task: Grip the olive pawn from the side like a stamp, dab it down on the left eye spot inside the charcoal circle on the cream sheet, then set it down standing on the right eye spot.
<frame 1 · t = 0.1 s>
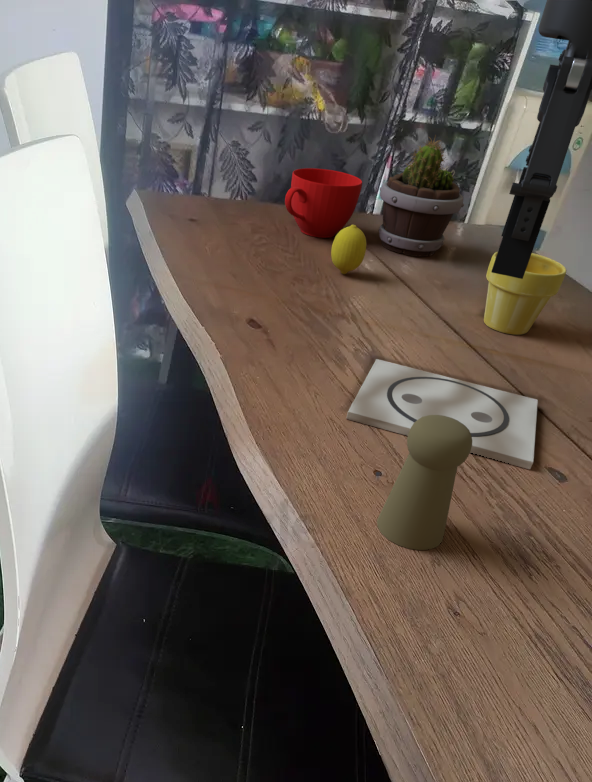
hand: (511, 255, 70), 20 cm above the table, tool pointing down, fingers open, 13 cm apart
olive pawn: (409, 530, 67), on the table
drawing sheet: (444, 412, 86), on the table
lemon: (343, 275, 123), on the table
flowerpot: (407, 249, 139), on the table
flower pot: (505, 327, 111), on the table
ceramic cup: (310, 234, 140), on the table
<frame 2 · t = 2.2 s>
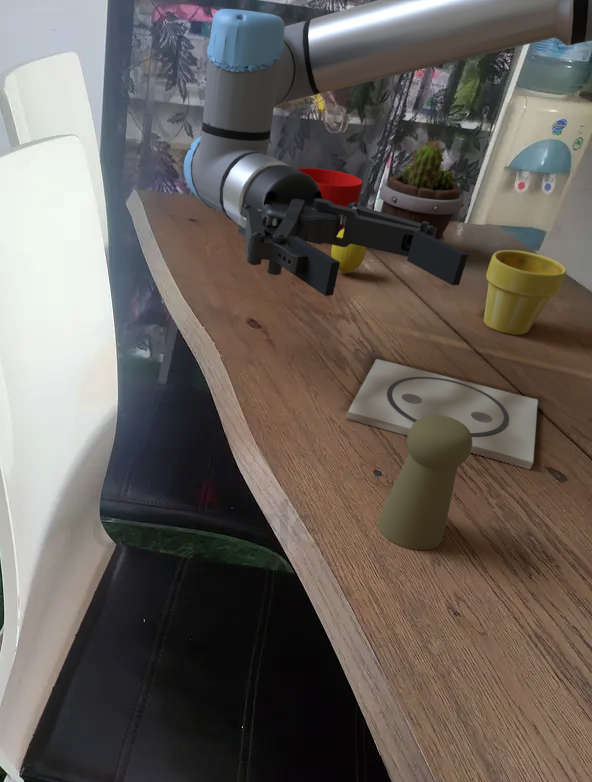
hand: (399, 274, 62), 20 cm above the table, tool horizontal, fingers open, 13 cm apart
nothing on the table moved.
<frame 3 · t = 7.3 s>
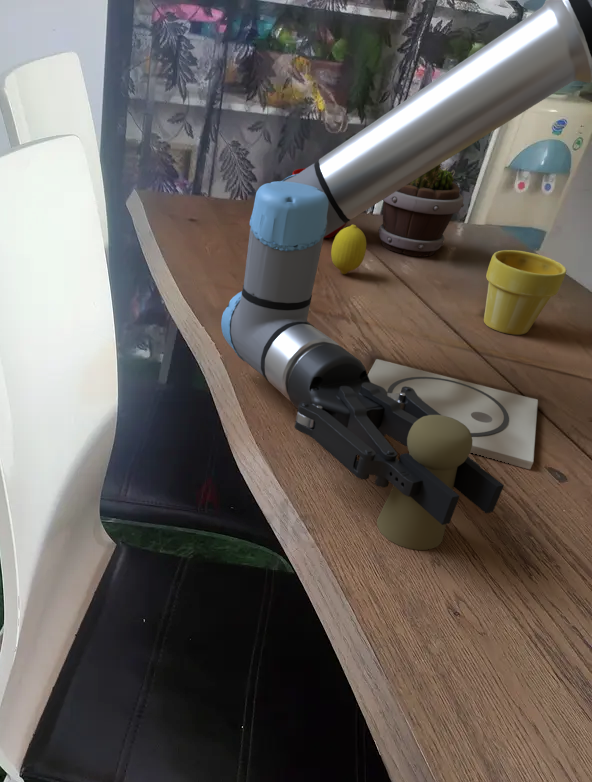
hand: (472, 504, 59), 6 cm above the table, tool horizontal, fingers closed on olive pawn, 4 cm apart
olive pawn: (409, 530, 67), on the table, touching gripper
everything else where it was.
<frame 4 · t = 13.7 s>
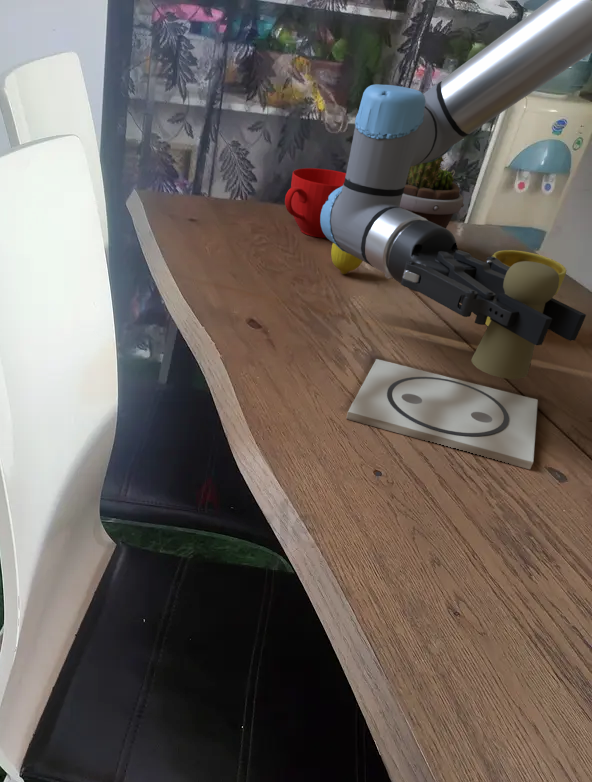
hand: (561, 329, 72), 14 cm above the table, tool horizontal, fingers closed on olive pawn, 4 cm apart
olive pawn: (498, 367, 80), point 7 cm above the table, touching gripper
everything else where it was.
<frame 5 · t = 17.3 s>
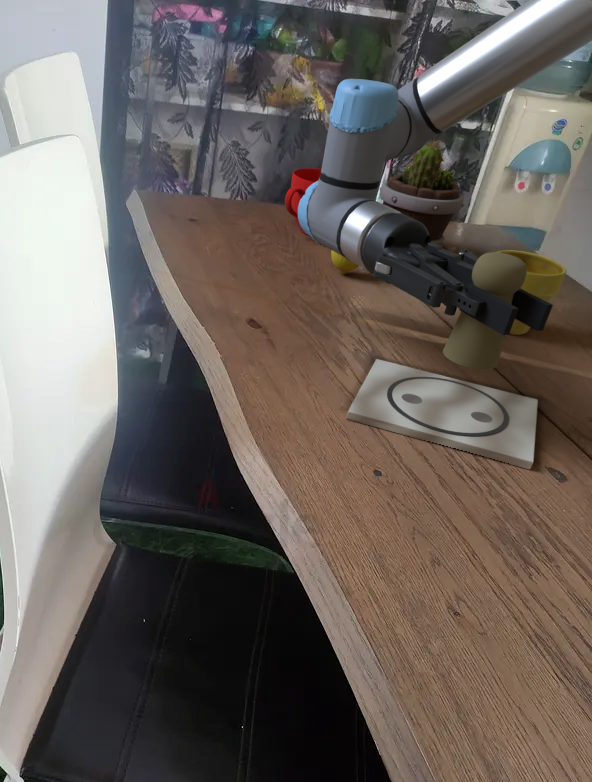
hand: (527, 319, 73), 14 cm above the table, tool horizontal, fingers closed on olive pawn, 4 cm apart
olive pawn: (469, 358, 81), point 7 cm above the table, touching gripper
everything else where it was.
when the fingers open (8 cm above the table, at t = 19.9 s): olive pawn stays where it is, resting on drawing sheet.
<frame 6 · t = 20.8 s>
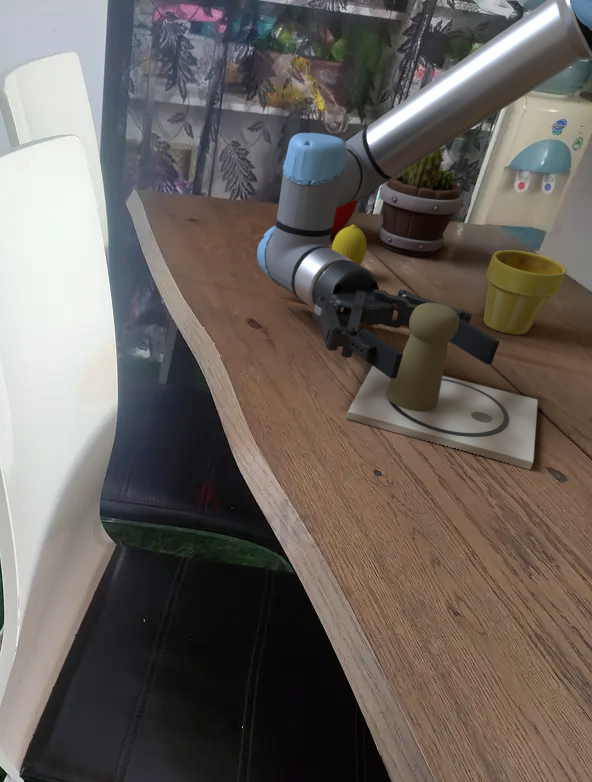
hand: (447, 359, 79), 8 cm above the table, tool horizontal, fingers open, 13 cm apart
olive pawn: (410, 399, 86), point 1 cm above the table, touching drawing sheet
everything else where it was.
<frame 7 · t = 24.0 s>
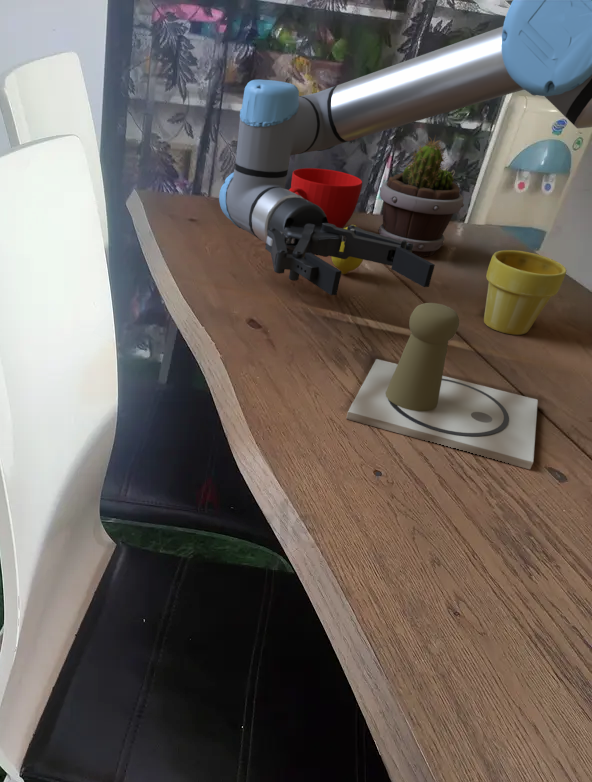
hand: (384, 279, 86), 12 cm above the table, tool horizontal, fingers open, 13 cm apart
nothing on the table moved.
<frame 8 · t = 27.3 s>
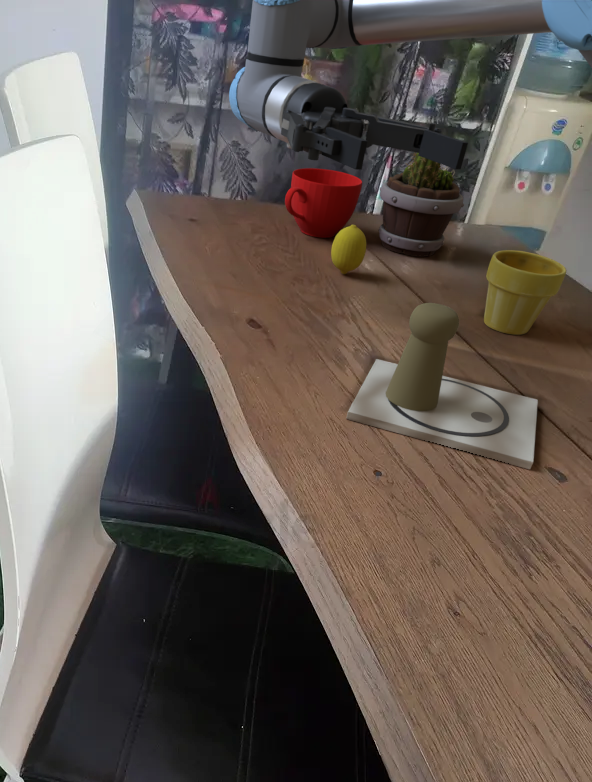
hand: (413, 155, 78), 25 cm above the table, tool horizontal, fingers open, 13 cm apart
nothing on the table moved.
at the end: olive pawn 0.1 cm from the target spot on the drawing sheet, point 1.0 cm above the drawing sheet's base; olive pawn tilted 0°; the gripper is holding nothing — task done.
